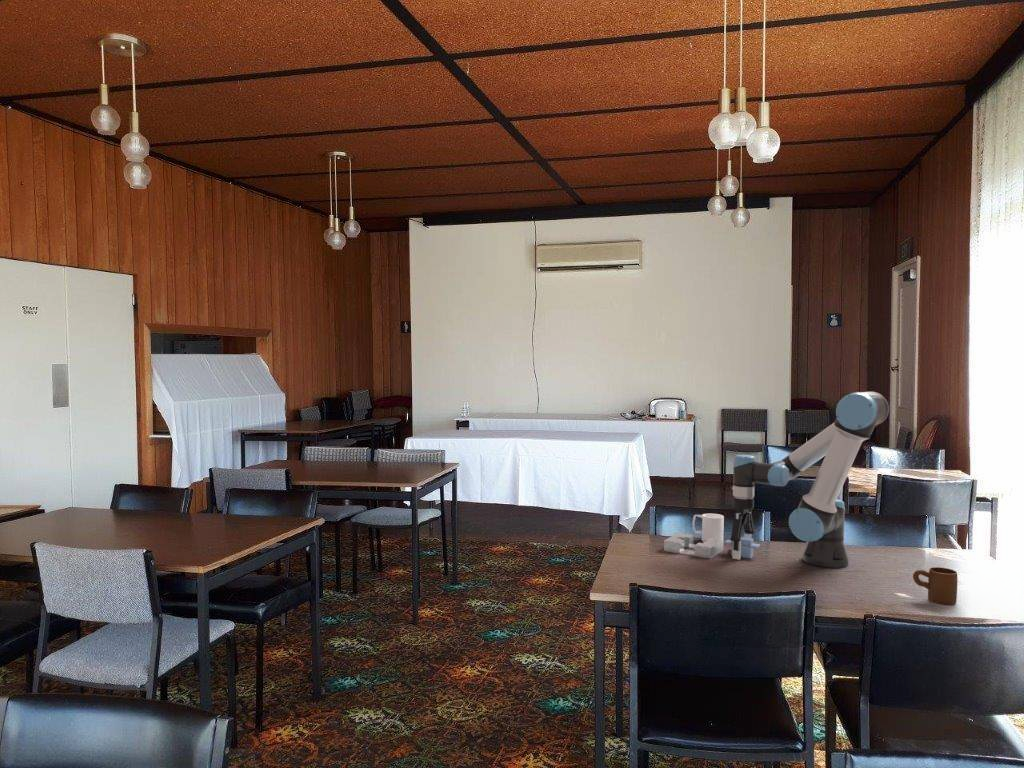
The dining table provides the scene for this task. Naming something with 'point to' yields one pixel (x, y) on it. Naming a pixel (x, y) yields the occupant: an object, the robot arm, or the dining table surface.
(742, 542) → the servo
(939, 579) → the mug
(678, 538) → the chassis
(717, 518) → the cup
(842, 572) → the dining table surface
